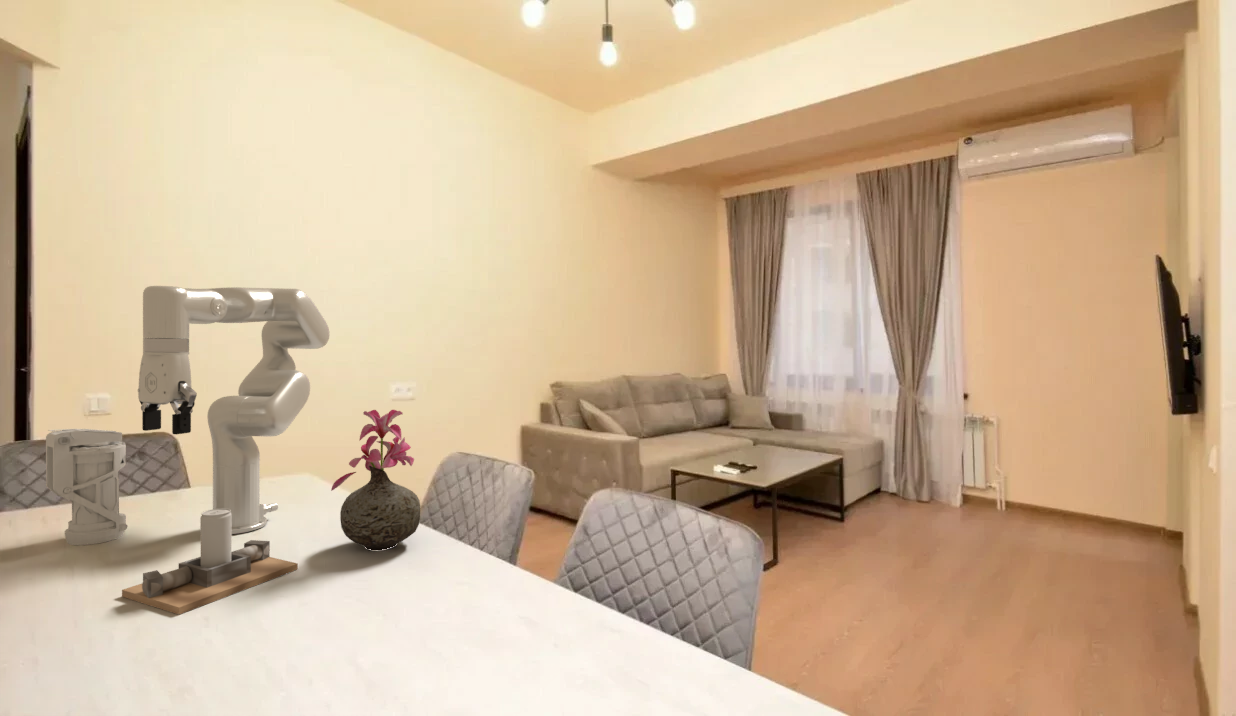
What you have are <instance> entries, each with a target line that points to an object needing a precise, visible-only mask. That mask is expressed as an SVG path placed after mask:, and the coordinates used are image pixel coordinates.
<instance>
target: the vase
mask: <svg viewBox="0 0 1236 716" xmlns="http://www.w3.org/2000/svg"><path fill="white" fill-rule="evenodd" d="M379 413H380V412H379V411H378V410H377V409H373V410H369V411H367V410H364V412H363V413H362V414H363V415H364V416H366V417H368V418H369V419H370V420H372V422H373V423H374V424H373V423H367V424H365V425H364V426H363V427H362V429H361V432H360V434H359V442H360V441H361V440H362V439H364V438H365V437H366V436H367V435H369V434H370V433H371V432H375V433H376V434H377V435H370V436H369V437H368V438H367V439H366V442H365V443H364V444H362V445H361V447H360V451H361V452H362V453H363V454H362V455H361V457H354V458H353V459H351V460H350V461H349V462H348V465H349V466H350V467H351V468H356V467H357V465H358V464H359V463H360V461H361V460H363V459H364V461H365V464H364V468H365V470H367V471H369V472H370V479H369V481H368V482H367V483H366V484H364V485H363V486H362V487H359V488H358V489H356V490H354V491H353V492H351V493H350V494H349V495H348V496H346V498H345V499H344V502H343V503H342V505H341V507H340V514H339V515H340V516H339V517H340V518H339V519H340V520H339V521H340V527H341V530H342V531H343V533H344V535H345V537H347V538H348V539H349V540H350V541H352V542H353V543H355V544H357V545H360V546H362V547H364V548H365V547H366V548H367V549H371V550H382V549H387V548H390V547H393V546H395V545H396V544H397V545H398V544H400V543H401V542H403V541H404V540H406V539H408V538H409V537H411V536H412V535H413V534H414V533H416V531H417V530H418V527H419V526H420V520H421V502H420V499H419V497H418V494H416V493H415V492H414V491H413V490H411V489H410V488H408V487H405V486H403V485H401V484H397V483H395V482H393V481H392V480H390V477H388V474H387V472H386V471H385V469H389V468H394V467H395V466H397V465H398V462H400V463H401V464H402V466H407V463H408V464H409V466H410V467H412V466H413V464H414V461H415V458H414V457H412V456H411V455H407V451H408V450H410V449H412V446H411V445H410V444H409V443H408V442H406V441H405V440H406V438H405V437H403V438H402V429H401V428H402V427H400V425H398V424H394V423H393V424H391V423H392V422H393V419H396V417H398V416H401V415H403V414H404V413H403V412H402V411H401V410H397V409H390V411H389V412H388V413H385V414H384V415H382V416H380V414H379ZM389 424H391V425H389ZM389 432H390V433H391V434H393V435H394V436H395V437H394V438H392V441H393V442H392V441H386V440H384V438H385V436H386V435H387V434H388V433H389ZM378 438H380V440H378ZM375 442H376V443H378V444H380V450H379V449H378V448H372V446H373V445H374V443H375ZM384 446H385V448H386V450H387V451H386V453H385V455H383V453H384ZM371 448H372V449H371ZM406 462H407V463H406ZM356 473H357V471H353V472H348V473H346V474H344V475H343V476H341V477H339V478H338V479H336V480H335V481H334V482H333V484H332V486H331V490H330V491H331V492H332V491H334V490H336V489H337V488H338V487H340V486H341V485H342V484H343V483H344V482H345V481H346V480H347V479H349V478H350V477H351V476H353V475H355V474H356Z"/></svg>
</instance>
